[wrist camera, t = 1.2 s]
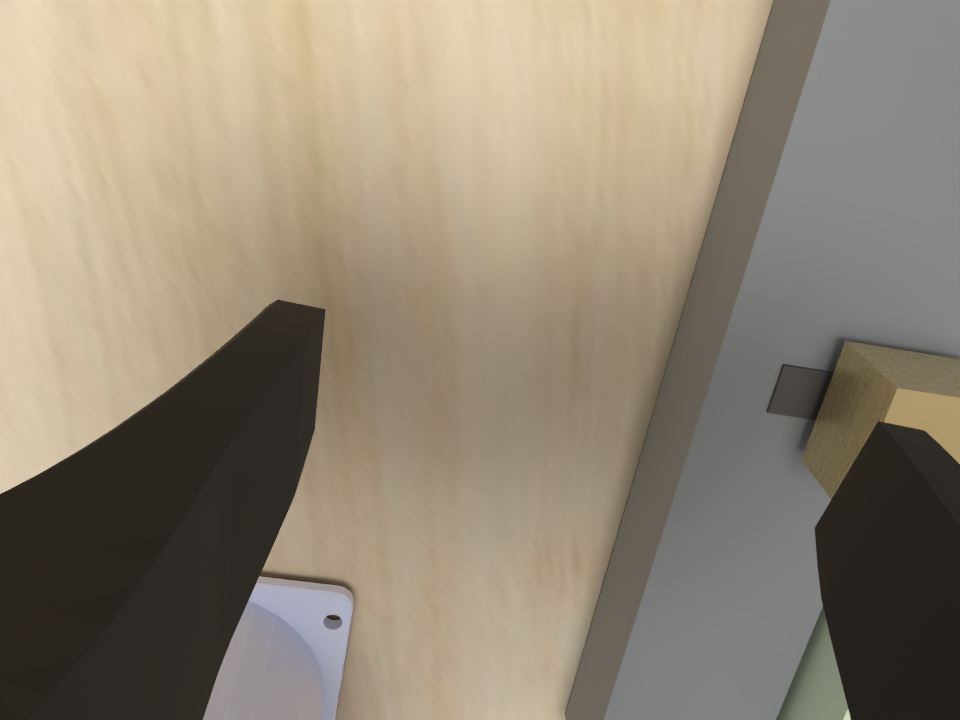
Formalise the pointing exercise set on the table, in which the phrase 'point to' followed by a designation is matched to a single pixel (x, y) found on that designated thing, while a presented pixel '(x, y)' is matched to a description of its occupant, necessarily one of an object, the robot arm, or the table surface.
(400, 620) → the table surface
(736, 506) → the switch panel
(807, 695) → the sage button
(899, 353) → the brass slider knob
